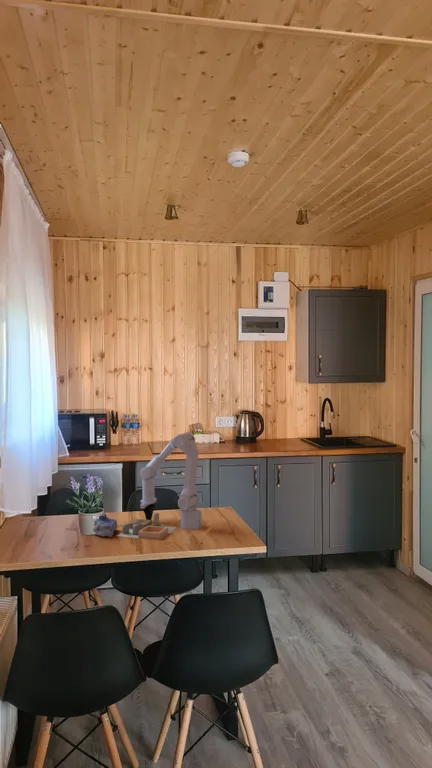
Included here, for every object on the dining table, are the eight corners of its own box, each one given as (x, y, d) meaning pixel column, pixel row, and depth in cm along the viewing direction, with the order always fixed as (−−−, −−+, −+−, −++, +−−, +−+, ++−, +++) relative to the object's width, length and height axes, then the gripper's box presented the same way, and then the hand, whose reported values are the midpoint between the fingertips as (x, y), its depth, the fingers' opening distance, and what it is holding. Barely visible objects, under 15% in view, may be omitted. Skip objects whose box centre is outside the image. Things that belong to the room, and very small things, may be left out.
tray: (168, 532, 249) (168, 527, 249) (159, 539, 240) (159, 533, 240) (147, 531, 252) (147, 525, 252) (138, 537, 243) (138, 531, 243)
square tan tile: (152, 525, 261) (152, 520, 261) (145, 530, 254) (145, 524, 254) (136, 524, 264) (136, 519, 264) (129, 528, 256) (129, 523, 256)
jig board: (176, 528, 258) (176, 518, 258) (160, 541, 239) (160, 530, 239) (135, 525, 264) (135, 515, 264) (115, 537, 245) (115, 526, 245)
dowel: (160, 528, 256) (159, 513, 256) (157, 530, 254) (157, 514, 253) (154, 528, 257) (154, 512, 257) (152, 529, 254) (151, 514, 254)
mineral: (95, 511, 256) (117, 509, 256) (97, 531, 257) (118, 529, 257) (89, 523, 242) (112, 521, 242) (91, 544, 243) (114, 542, 243)
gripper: (146, 488, 275) (147, 515, 275) (134, 494, 261) (134, 523, 261) (160, 488, 273) (160, 516, 273) (148, 495, 259) (148, 524, 259)
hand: (148, 520), depth 267 cm, fingers closed
